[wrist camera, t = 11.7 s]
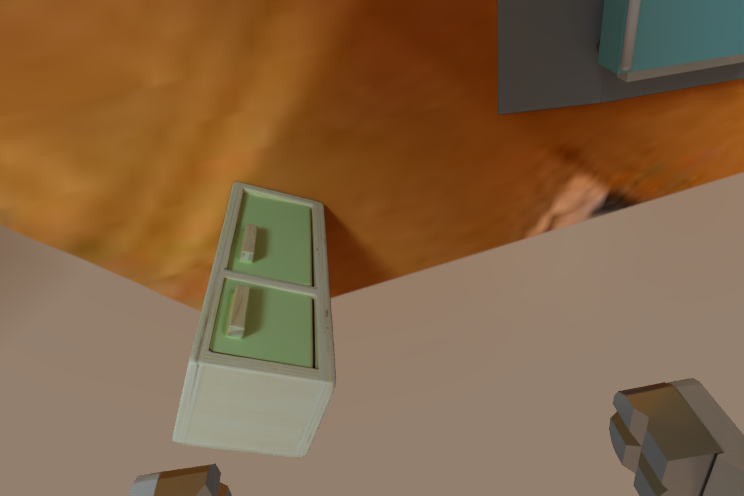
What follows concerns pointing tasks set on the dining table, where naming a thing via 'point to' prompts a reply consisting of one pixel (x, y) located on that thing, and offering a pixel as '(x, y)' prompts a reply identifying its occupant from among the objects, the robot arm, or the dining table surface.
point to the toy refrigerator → (262, 331)
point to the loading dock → (578, 60)
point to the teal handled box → (668, 32)
